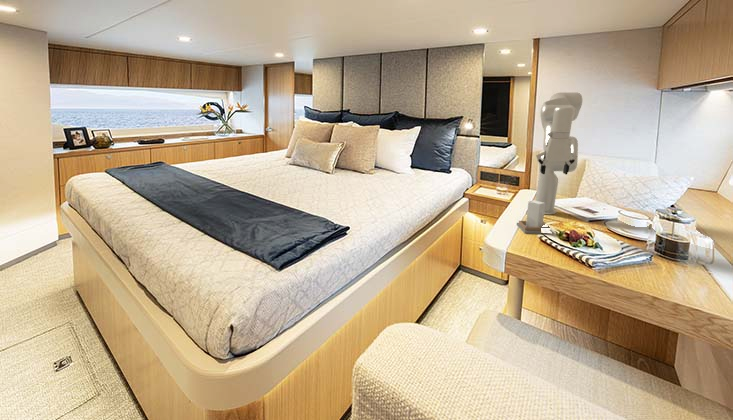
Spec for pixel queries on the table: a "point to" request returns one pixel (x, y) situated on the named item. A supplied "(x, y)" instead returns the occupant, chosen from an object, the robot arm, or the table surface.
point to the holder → (530, 228)
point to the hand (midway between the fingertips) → (553, 173)
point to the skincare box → (535, 214)
